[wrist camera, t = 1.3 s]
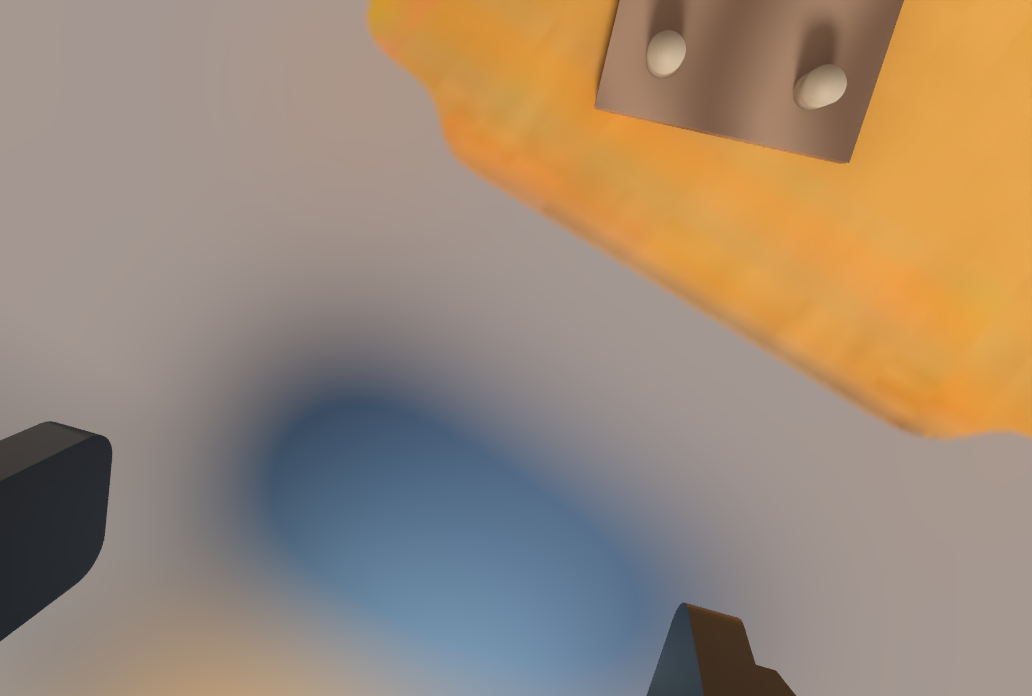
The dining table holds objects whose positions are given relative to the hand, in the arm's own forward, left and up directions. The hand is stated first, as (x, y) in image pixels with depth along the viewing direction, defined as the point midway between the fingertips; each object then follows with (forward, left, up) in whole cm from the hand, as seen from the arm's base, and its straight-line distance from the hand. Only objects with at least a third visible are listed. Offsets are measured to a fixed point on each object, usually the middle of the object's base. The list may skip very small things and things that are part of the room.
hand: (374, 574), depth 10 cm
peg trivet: (-6, -15, -29) cm, 33 cm away
